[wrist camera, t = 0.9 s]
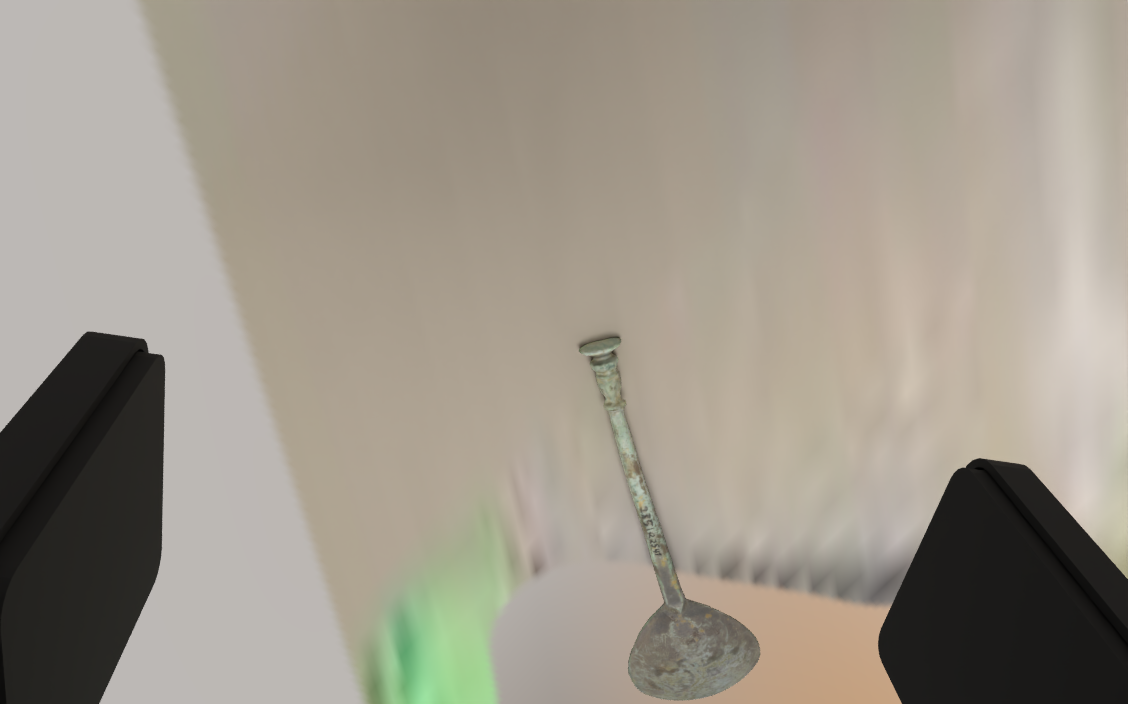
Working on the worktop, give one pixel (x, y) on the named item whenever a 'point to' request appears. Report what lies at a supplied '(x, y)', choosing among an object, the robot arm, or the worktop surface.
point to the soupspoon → (670, 586)
